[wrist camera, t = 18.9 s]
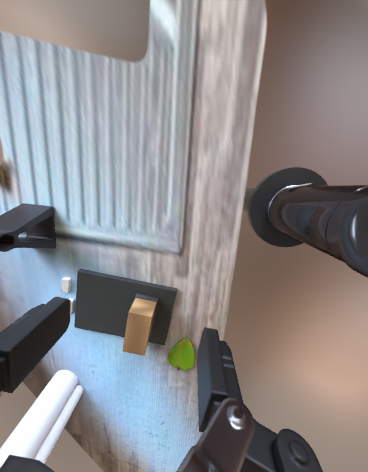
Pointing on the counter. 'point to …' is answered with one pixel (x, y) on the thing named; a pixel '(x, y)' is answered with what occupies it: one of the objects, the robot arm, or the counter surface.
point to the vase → (44, 419)
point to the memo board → (118, 304)
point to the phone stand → (27, 227)
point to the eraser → (140, 324)
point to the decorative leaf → (182, 355)
